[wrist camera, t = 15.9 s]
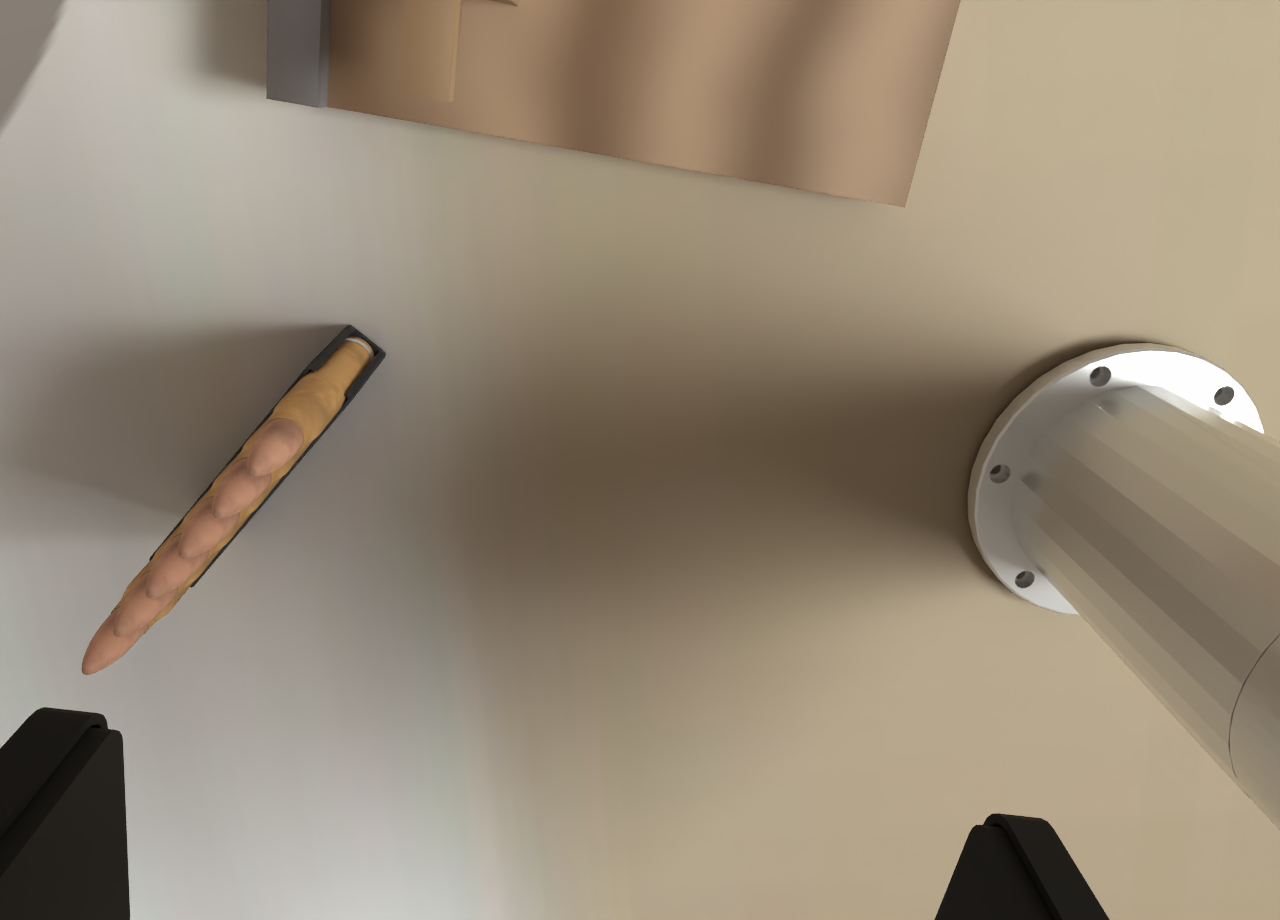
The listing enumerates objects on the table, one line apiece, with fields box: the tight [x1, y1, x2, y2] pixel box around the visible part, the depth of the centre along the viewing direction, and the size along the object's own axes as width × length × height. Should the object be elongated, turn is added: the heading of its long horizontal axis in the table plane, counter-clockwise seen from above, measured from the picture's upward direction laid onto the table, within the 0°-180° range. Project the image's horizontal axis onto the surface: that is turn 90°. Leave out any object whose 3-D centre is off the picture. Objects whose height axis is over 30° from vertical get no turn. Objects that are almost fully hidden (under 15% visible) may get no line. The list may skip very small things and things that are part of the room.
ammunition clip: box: [82, 325, 386, 675], centre depth 32 cm, size 11×2×12 cm, turn 137°
